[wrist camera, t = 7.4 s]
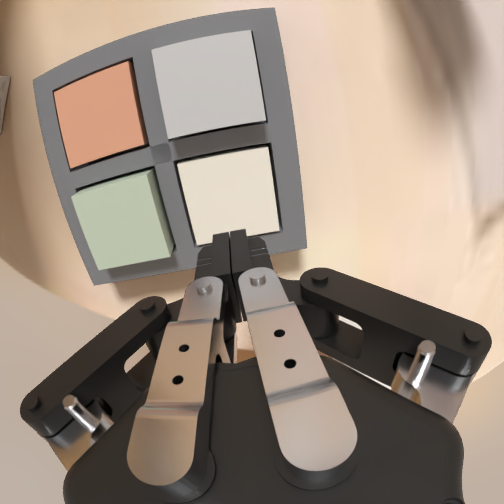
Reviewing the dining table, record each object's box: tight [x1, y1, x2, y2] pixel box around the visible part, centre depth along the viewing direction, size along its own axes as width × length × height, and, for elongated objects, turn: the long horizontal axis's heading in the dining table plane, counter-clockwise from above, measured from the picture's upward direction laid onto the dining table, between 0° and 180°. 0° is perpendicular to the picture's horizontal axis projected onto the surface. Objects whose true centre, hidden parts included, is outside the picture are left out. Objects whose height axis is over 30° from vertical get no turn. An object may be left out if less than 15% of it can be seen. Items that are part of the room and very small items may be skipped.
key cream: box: [177, 144, 280, 245], centre depth 22 cm, size 6×6×2 cm
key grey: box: [152, 30, 266, 139], centre depth 17 cm, size 6×6×2 cm
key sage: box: [71, 168, 175, 270], centre depth 21 cm, size 6×6×2 cm
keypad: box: [33, 8, 307, 285], centre depth 21 cm, size 19×19×3 cm
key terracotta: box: [54, 61, 149, 169], centre depth 18 cm, size 6×6×2 cm
